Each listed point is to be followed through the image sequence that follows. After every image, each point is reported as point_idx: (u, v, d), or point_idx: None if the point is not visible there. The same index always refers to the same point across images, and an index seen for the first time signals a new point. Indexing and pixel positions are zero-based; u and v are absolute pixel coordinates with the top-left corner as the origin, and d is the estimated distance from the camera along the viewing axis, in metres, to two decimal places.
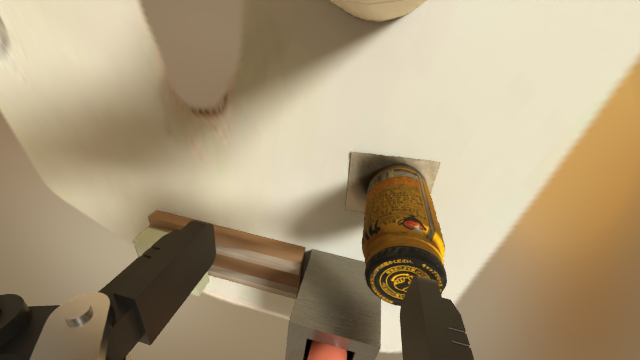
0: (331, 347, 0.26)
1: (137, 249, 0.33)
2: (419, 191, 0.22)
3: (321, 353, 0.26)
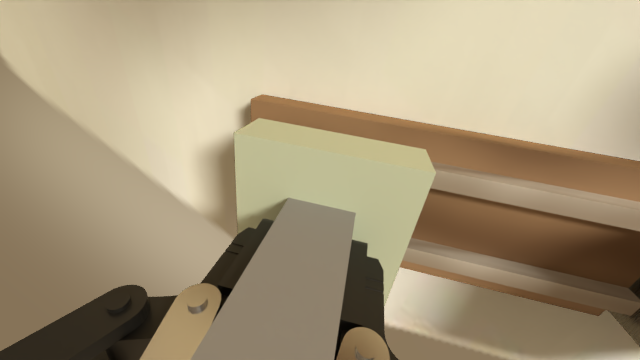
0: None
1: (240, 168, 0.11)
2: None
3: None
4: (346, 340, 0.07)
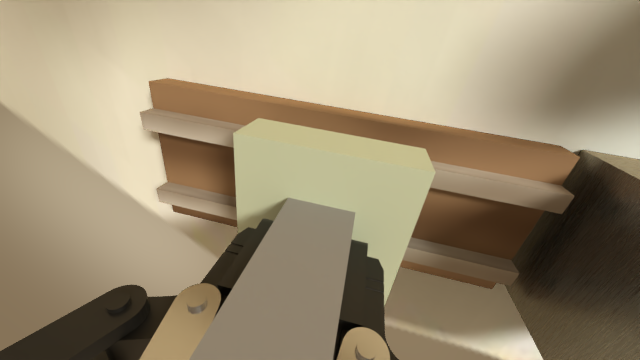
0: None
1: (240, 168, 0.11)
2: None
3: None
4: (347, 340, 0.07)
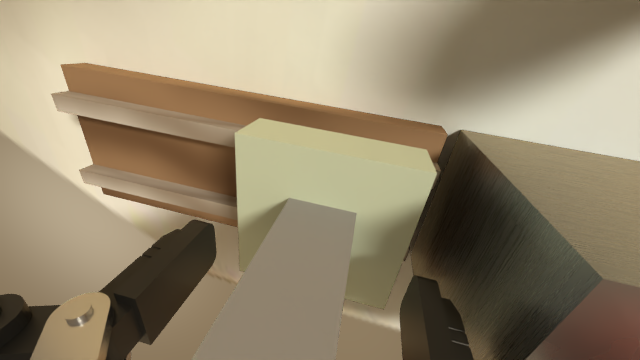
0: None
1: (241, 168, 0.11)
2: None
3: None
4: None
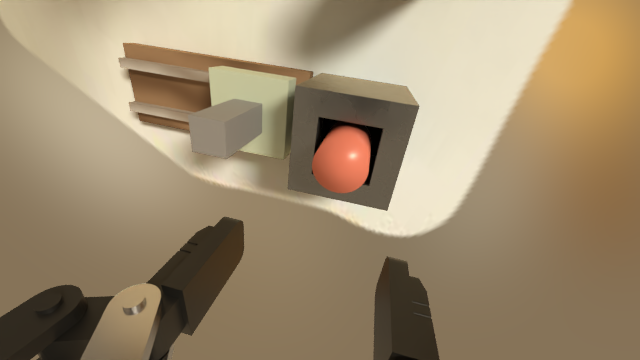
0: (351, 129, 0.20)
1: (212, 84, 0.25)
2: None
3: (338, 131, 0.19)
4: None
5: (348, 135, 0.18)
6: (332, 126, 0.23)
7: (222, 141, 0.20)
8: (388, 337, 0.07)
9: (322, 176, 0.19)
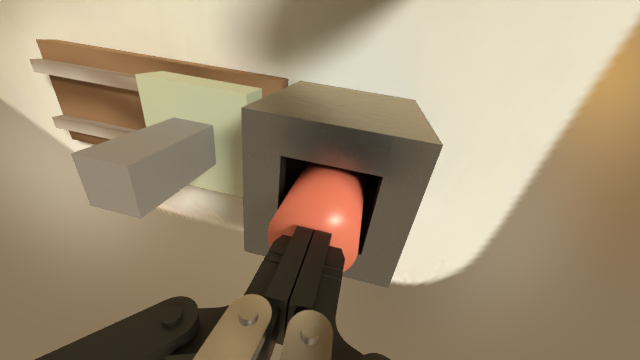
0: (332, 172, 0.13)
1: (143, 98, 0.18)
2: None
3: (312, 178, 0.12)
4: (291, 326, 0.07)
5: (327, 189, 0.11)
6: None
7: (129, 193, 0.13)
8: None
9: None
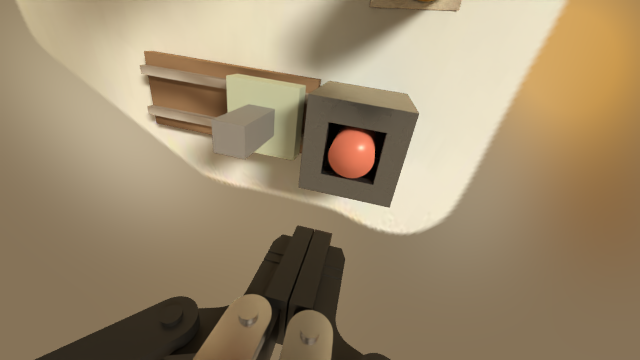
0: None
1: (229, 91, 0.27)
2: None
3: (349, 127, 0.23)
4: (291, 326, 0.07)
5: (358, 130, 0.23)
6: None
7: (241, 143, 0.22)
8: None
9: (336, 164, 0.23)
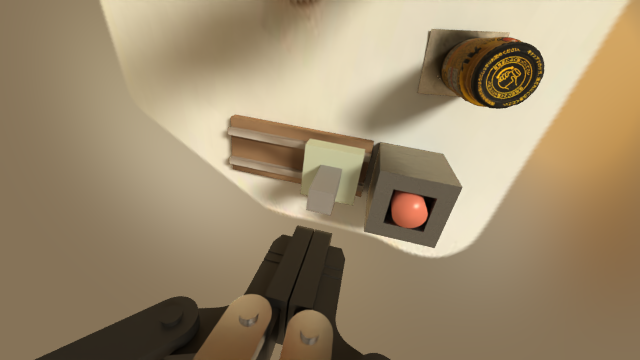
0: None
1: (306, 155, 0.35)
2: None
3: None
4: (291, 326, 0.07)
5: (414, 194, 0.31)
6: None
7: (330, 205, 0.30)
8: None
9: (397, 218, 0.31)
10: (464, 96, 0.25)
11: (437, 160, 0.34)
